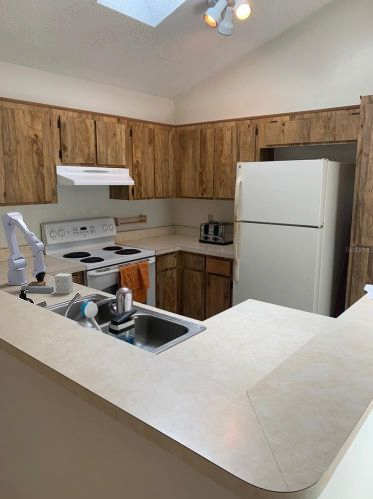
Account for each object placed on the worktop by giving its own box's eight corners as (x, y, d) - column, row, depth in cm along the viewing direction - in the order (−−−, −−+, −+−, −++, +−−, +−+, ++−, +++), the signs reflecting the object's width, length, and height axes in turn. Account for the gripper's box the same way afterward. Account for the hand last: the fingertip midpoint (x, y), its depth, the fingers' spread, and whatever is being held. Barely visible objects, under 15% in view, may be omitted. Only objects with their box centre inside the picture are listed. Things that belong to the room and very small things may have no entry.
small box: (73, 291, 218) (72, 273, 216) (69, 294, 213) (68, 276, 211) (60, 290, 219) (58, 273, 217) (55, 293, 214) (54, 275, 211)
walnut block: (28, 290, 220) (27, 284, 219) (33, 287, 226) (32, 281, 225) (41, 291, 220) (41, 284, 219) (46, 287, 226) (45, 281, 225)
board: (21, 292, 217) (20, 287, 216) (24, 290, 220) (23, 285, 219) (51, 293, 215) (50, 288, 214) (53, 291, 218) (53, 286, 217)
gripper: (39, 265, 217) (41, 288, 219) (51, 259, 231) (52, 281, 233) (27, 265, 217) (29, 287, 220) (40, 259, 232) (41, 280, 234)
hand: (40, 284), depth 227 cm, fingers closed
